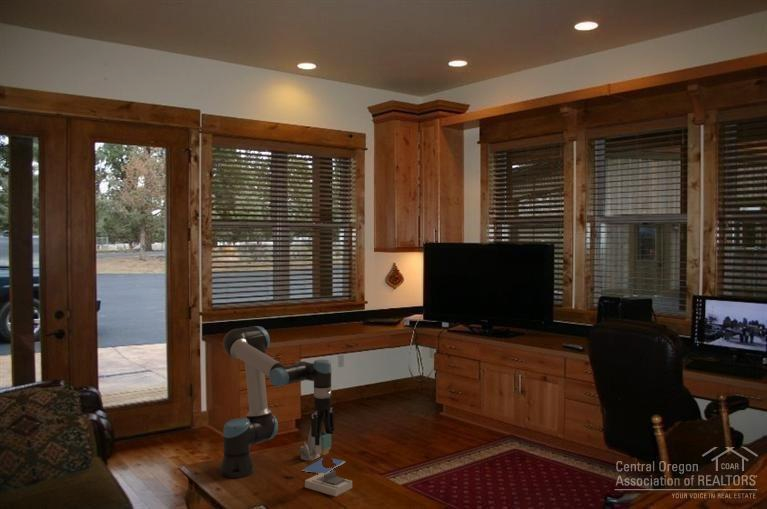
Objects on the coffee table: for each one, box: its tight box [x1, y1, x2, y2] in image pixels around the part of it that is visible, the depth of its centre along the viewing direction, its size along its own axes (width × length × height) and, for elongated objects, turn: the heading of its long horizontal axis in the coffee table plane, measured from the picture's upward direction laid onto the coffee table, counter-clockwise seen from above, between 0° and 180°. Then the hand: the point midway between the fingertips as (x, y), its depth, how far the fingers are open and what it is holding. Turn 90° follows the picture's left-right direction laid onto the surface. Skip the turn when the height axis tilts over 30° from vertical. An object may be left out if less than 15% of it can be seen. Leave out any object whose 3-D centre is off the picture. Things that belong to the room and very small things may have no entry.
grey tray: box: [304, 473, 353, 497], centre depth 273 cm, size 17×11×4 cm, turn 55°
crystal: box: [299, 427, 321, 461], centre depth 311 cm, size 10×13×15 cm
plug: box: [315, 430, 332, 456], centre depth 275 cm, size 5×5×10 cm
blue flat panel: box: [301, 457, 346, 474], centre depth 299 cm, size 19×13×1 cm, turn 153°
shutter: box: [324, 469, 346, 486], centre depth 271 cm, size 6×6×3 cm
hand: (323, 450), depth 275 cm, fingers closed on plug, 5 cm apart
